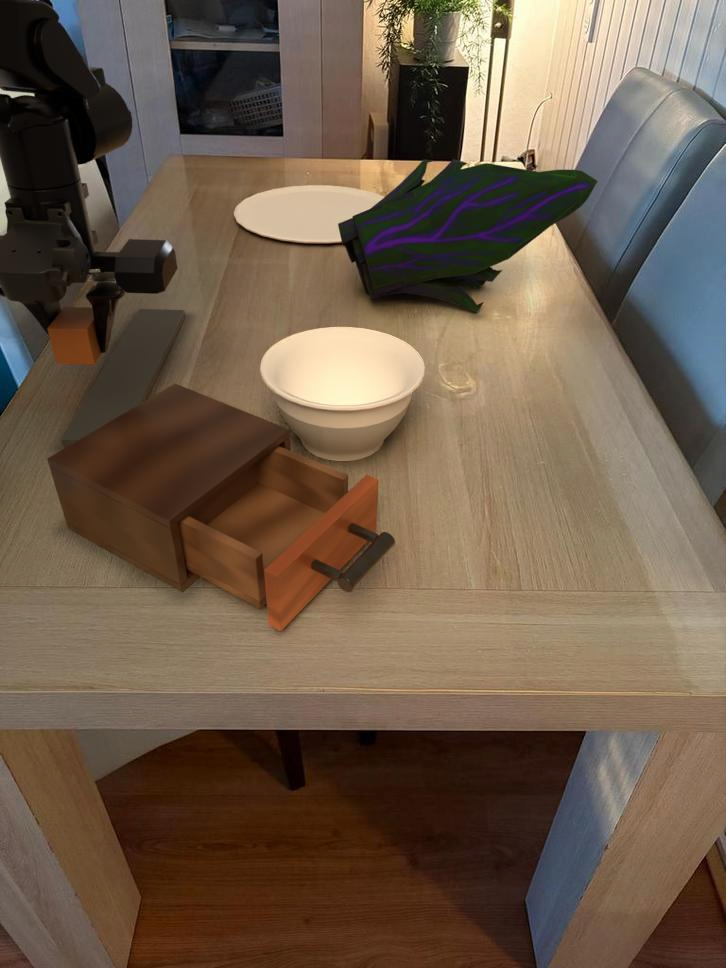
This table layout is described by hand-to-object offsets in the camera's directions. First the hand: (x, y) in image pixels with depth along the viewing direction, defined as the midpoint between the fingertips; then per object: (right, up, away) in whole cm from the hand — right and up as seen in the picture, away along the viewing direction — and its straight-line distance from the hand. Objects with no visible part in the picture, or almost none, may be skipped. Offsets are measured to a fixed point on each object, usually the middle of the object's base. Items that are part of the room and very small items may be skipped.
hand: (83, 350), depth 71 cm
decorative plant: (+38, +14, +35) cm, 53 cm away
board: (0, 0, +15) cm, 16 cm away
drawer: (+20, -19, -9) cm, 29 cm away
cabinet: (+10, -15, -4) cm, 19 cm away
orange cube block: (0, 0, 0) cm, 0 cm away
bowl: (+24, -8, +6) cm, 26 cm away
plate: (+19, +34, +59) cm, 70 cm away
